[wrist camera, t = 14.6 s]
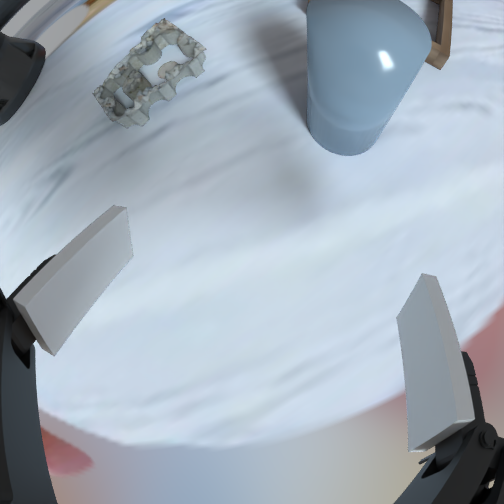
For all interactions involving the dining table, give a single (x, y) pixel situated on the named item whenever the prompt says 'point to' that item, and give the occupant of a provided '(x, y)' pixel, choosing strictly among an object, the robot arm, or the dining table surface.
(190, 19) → the dining table surface
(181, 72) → the egg carton
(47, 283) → the robot arm
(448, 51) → the wooden square frame
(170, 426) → the dining table surface
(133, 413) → the dining table surface
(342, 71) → the slate jar
